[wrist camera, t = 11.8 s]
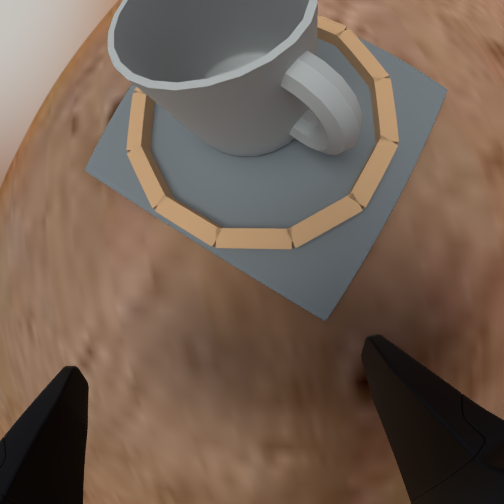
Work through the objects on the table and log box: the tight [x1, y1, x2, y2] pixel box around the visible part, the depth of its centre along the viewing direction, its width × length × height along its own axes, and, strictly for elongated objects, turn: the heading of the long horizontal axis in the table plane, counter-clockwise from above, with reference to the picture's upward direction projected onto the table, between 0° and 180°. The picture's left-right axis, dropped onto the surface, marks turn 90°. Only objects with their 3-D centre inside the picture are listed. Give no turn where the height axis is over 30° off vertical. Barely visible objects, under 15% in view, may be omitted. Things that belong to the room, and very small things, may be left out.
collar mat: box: [85, 15, 447, 321], centre depth 16 cm, size 18×16×2 cm
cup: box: [108, 0, 362, 156], centre depth 12 cm, size 7×10×9 cm
